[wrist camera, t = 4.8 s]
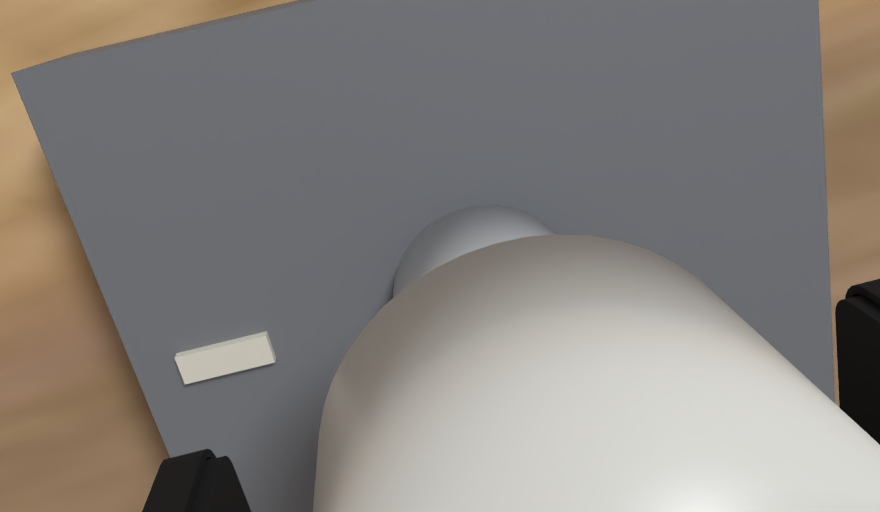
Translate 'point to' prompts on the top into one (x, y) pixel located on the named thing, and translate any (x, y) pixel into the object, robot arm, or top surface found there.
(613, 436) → the white rounded dome
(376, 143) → the stub base
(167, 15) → the top surface
